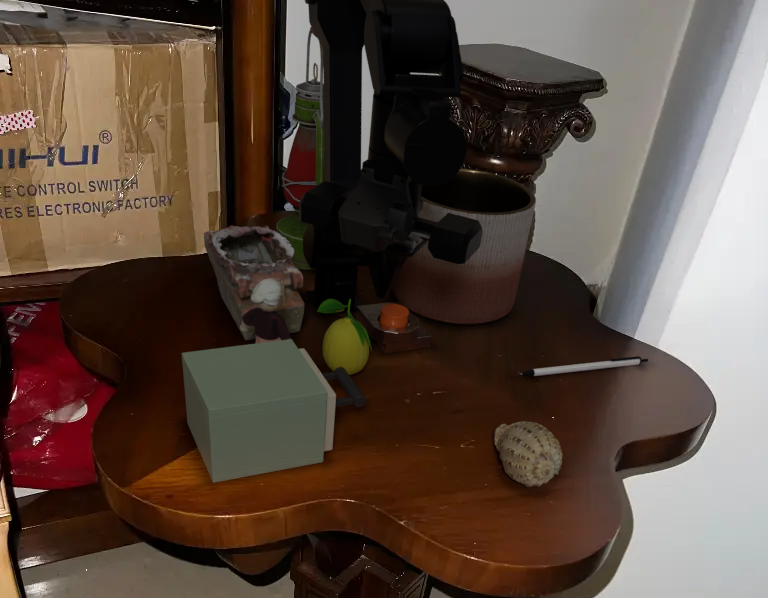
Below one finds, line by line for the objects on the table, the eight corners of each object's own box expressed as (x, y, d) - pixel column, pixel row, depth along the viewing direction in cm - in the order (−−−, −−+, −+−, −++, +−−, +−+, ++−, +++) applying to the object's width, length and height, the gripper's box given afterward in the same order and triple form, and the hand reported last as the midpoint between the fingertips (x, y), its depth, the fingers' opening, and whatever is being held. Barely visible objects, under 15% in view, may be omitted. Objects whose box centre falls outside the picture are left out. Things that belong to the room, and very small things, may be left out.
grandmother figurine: (304, 384, 91) (308, 282, 83) (288, 399, 88) (290, 295, 80) (248, 365, 93) (246, 264, 85) (230, 379, 90) (226, 276, 82)
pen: (648, 364, 102) (650, 357, 102) (521, 378, 96) (523, 371, 96) (644, 361, 103) (646, 353, 102) (518, 375, 97) (520, 367, 96)
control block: (344, 318, 104) (346, 294, 102) (398, 312, 107) (401, 288, 105) (378, 360, 97) (380, 335, 94) (434, 352, 100) (438, 327, 97)
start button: (375, 317, 99) (376, 305, 97) (400, 314, 100) (401, 302, 99) (386, 331, 96) (387, 318, 95) (412, 327, 97) (413, 315, 96)
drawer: (337, 396, 88) (340, 343, 84) (369, 443, 82) (375, 388, 77) (209, 416, 83) (206, 360, 78) (233, 468, 76) (231, 410, 72)
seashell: (471, 479, 85) (534, 497, 77) (465, 426, 83) (529, 439, 75) (523, 460, 88) (589, 476, 80) (519, 409, 86) (586, 420, 78)
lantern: (353, 273, 115) (370, 42, 95) (283, 275, 112) (285, 38, 93) (331, 236, 125) (343, 20, 105) (266, 237, 122) (265, 15, 102)
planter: (434, 340, 102) (452, 221, 92) (368, 283, 113) (378, 171, 103) (537, 318, 110) (565, 207, 100) (466, 267, 121) (484, 162, 110)
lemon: (314, 361, 95) (318, 285, 88) (361, 361, 96) (368, 285, 90) (321, 391, 90) (326, 312, 84) (371, 390, 91) (379, 312, 85)
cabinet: (290, 407, 87) (291, 338, 81) (323, 462, 80) (327, 391, 74) (187, 423, 83) (181, 352, 77) (212, 483, 76) (208, 410, 70)
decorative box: (199, 350, 94) (194, 275, 88) (183, 278, 108) (177, 209, 102) (305, 344, 98) (308, 271, 92) (276, 275, 112) (276, 208, 106)
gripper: (273, 148, 72) (272, 303, 82) (460, 195, 68) (434, 352, 78) (326, 122, 80) (319, 266, 90) (497, 163, 76) (469, 309, 86)
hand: (382, 297), depth 86 cm, fingers closed
